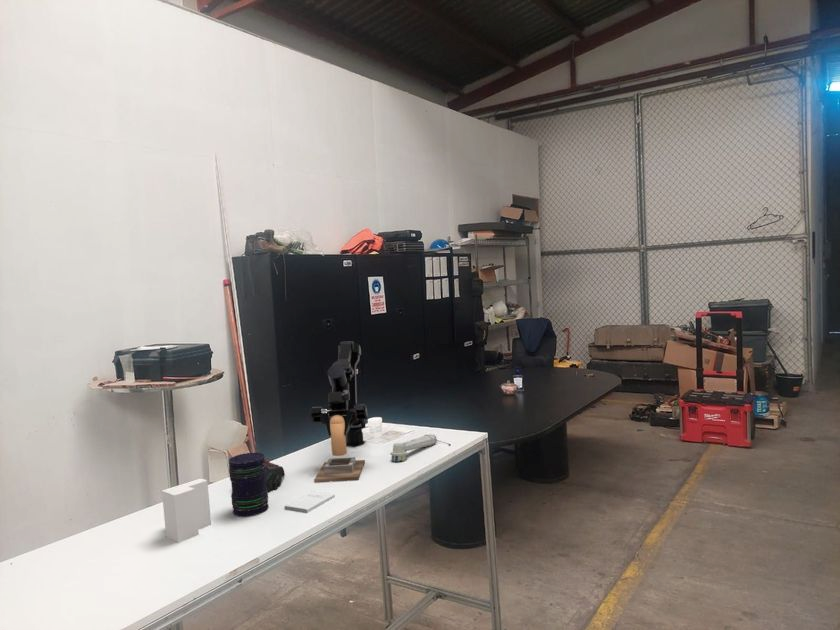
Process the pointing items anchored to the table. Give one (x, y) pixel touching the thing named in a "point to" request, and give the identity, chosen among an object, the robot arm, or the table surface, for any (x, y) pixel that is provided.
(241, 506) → the storage jar
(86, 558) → the table surface
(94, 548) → the table surface
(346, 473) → the jig
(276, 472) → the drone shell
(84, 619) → the table surface
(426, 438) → the grey cylindrical tool
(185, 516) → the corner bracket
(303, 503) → the external hard drive
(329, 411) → the robot arm
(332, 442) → the ball
